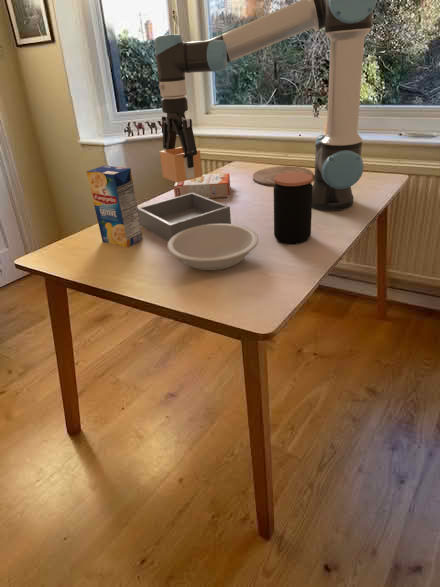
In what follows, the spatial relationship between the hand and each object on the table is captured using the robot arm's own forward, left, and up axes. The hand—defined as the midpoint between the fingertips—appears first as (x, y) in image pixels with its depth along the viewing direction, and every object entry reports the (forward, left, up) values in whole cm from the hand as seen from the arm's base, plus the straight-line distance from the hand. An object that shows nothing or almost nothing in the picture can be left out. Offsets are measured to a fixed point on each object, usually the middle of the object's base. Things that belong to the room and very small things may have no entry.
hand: (182, 175), depth 136 cm
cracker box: (+16, -30, -13) cm, 37 cm away
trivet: (+15, -57, -17) cm, 61 cm away
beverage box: (+3, +22, -16) cm, 28 cm away
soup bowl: (-30, +10, -16) cm, 36 cm away
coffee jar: (-33, -16, -16) cm, 40 cm away
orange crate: (0, 0, -1) cm, 1 cm away
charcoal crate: (0, +1, -16) cm, 16 cm away
